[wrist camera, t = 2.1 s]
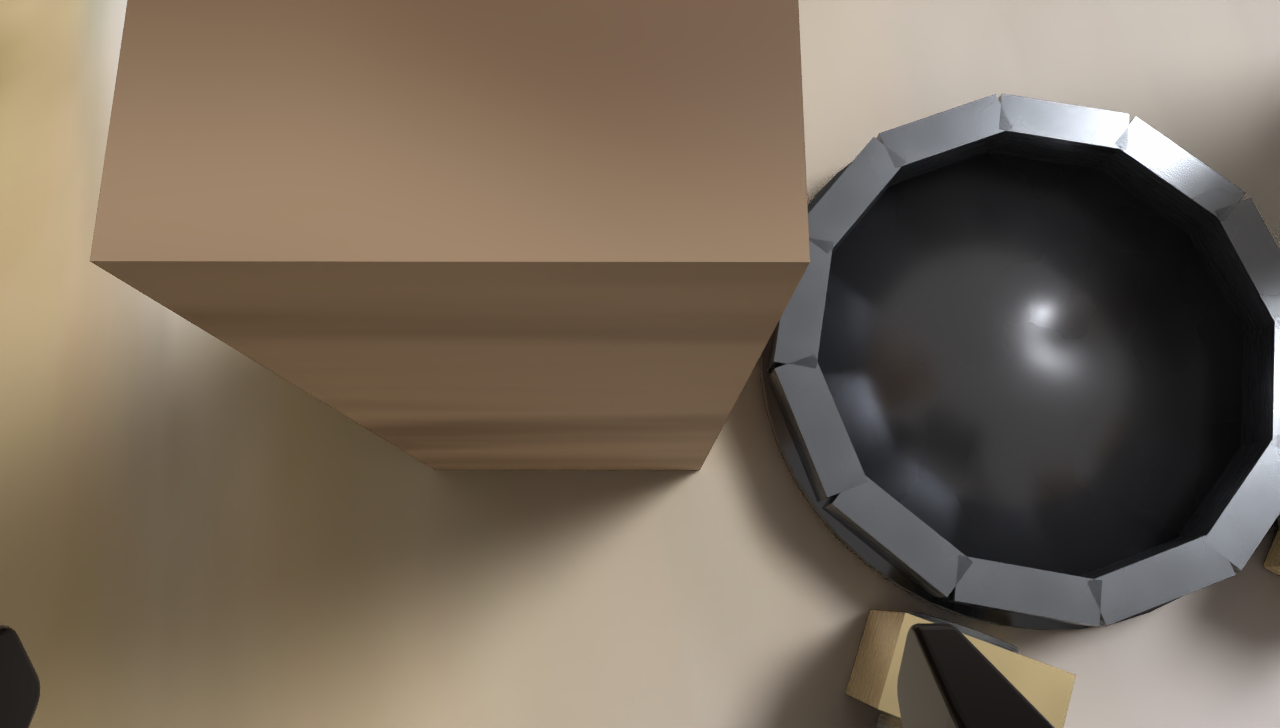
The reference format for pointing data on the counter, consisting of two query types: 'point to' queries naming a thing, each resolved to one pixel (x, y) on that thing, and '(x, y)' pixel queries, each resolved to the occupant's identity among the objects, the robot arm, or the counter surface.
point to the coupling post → (472, 210)
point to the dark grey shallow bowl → (1034, 365)
